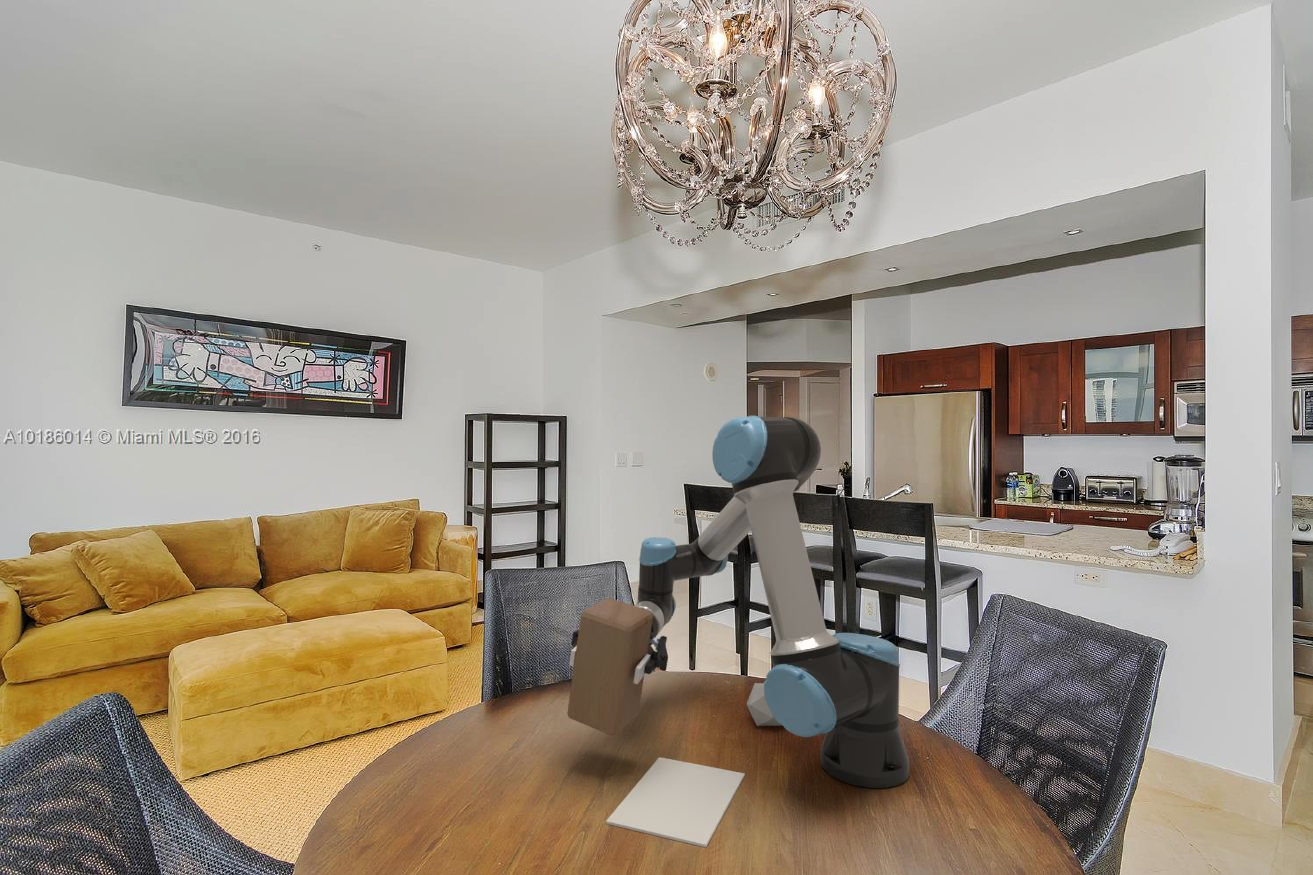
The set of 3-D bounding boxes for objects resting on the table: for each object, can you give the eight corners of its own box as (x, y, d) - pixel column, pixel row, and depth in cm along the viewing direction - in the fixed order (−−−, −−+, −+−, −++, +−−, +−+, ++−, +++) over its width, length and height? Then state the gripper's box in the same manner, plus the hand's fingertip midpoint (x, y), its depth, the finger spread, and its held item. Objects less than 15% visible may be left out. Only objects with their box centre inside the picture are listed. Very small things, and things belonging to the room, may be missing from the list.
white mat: (744, 775, 117) (744, 773, 117) (706, 847, 96) (706, 844, 96) (659, 759, 123) (659, 756, 123) (606, 823, 102) (606, 820, 102)
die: (779, 739, 132) (801, 694, 135) (741, 714, 134) (763, 671, 137) (772, 736, 140) (793, 694, 143) (736, 713, 141) (757, 672, 144)
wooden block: (640, 715, 122) (656, 610, 121) (613, 739, 113) (630, 626, 111) (593, 697, 127) (608, 595, 125) (564, 718, 118) (579, 609, 116)
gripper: (694, 657, 134) (666, 706, 113) (584, 629, 140) (539, 670, 119) (700, 621, 133) (673, 663, 112) (589, 594, 139) (544, 629, 118)
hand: (604, 667), depth 115 cm, fingers closed on wooden block, 11 cm apart
